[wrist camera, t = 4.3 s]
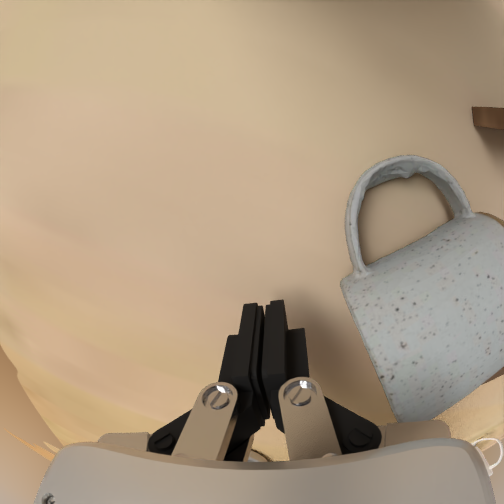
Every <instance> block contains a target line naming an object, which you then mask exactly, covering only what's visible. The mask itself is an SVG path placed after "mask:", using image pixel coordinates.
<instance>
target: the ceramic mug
mask: <svg viewBox="0 0 504 504" xmlns="http://www.w3.org/2000/svg"><path fill="white" fill-rule="evenodd" d="M414 173H420V174H421V175H423V176H425V177H426V178H428V179H430V180H431V181H432V182H433V183H435V184H436V186H437V188H438V189H439V190H441V191H442V193H443V194H444V196H445V198H446V199H447V201H448V202H449V204H450V206H451V208H452V211H453V213H454V219H452V220H450V221H448V222H447V223H445V224H443V225H442V226H440V227H438V228H437V229H435V230H434V231H433V232H431V233H430V234H428V235H427V236H425V237H423V238H421V239H419V240H418V241H416V242H413V243H412V244H410V245H407V246H406V247H404V248H402V249H400V250H398V251H395V252H394V253H392V254H389V255H387V256H385V257H383V258H380V259H378V260H377V261H375V262H374V263H371V264H368V265H367V266H366V265H365V264H364V262H363V260H362V256H361V252H360V244H359V235H358V214H359V211H360V207H361V202H362V200H363V199H364V193H365V191H366V190H367V189H369V188H371V187H374V186H376V185H378V184H380V183H382V182H385V181H388V180H391V179H394V178H398V177H403V178H409V177H410V176H412V175H413V174H414ZM345 234H346V241H347V246H348V250H349V255H350V259H351V262H352V265H353V273H351V274H350V275H348V276H347V277H345V278H343V279H342V280H341V282H340V287H341V289H342V293H343V295H344V298H345V300H346V303H347V305H348V308H349V310H350V312H351V315H352V317H353V320H354V322H355V324H356V326H357V329H358V331H359V333H360V335H361V337H362V340H363V342H364V345H365V348H366V350H367V352H368V354H369V356H370V359H371V361H372V363H373V365H374V368H375V370H376V373H377V375H378V378H379V380H380V382H381V384H382V386H383V389H384V391H385V394H386V397H387V399H388V401H389V403H390V406H391V409H392V411H393V413H394V415H395V418H396V419H397V422H398V423H403V422H417V421H427V420H431V419H433V418H434V417H436V416H438V415H439V414H441V413H442V412H444V411H445V410H447V409H448V408H450V407H451V406H453V405H454V404H455V403H457V402H458V401H460V400H461V399H463V398H464V397H465V396H467V395H468V394H470V393H471V392H472V391H474V390H475V389H476V388H478V387H479V386H480V385H481V384H483V383H484V382H485V381H486V380H488V379H489V378H490V377H491V376H493V375H494V374H495V373H496V372H498V371H499V370H500V369H501V368H502V367H504V221H503V220H501V219H499V218H497V217H495V216H493V215H491V214H488V213H483V212H476V213H473V212H472V210H471V209H470V204H469V201H468V200H467V198H466V195H465V193H464V191H463V190H462V188H461V187H460V185H459V184H458V182H457V180H456V179H455V178H454V177H453V176H452V175H451V174H450V173H449V172H448V171H447V170H446V169H445V168H444V167H442V166H441V165H440V164H438V163H436V162H434V161H431V160H429V159H427V158H423V157H419V156H416V155H405V156H404V155H400V156H397V157H393V158H388V159H386V160H384V161H381V162H379V163H377V164H375V165H374V166H372V167H371V168H369V169H368V170H366V171H365V172H364V173H363V174H362V175H361V177H360V178H359V180H358V181H357V183H356V185H355V186H354V188H353V190H352V192H351V193H350V196H349V200H348V203H347V208H346V214H345Z"/></svg>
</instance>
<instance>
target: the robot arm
mask: <svg viewBox="0 0 504 504" xmlns="http://www.w3.org/2000/svg"><path fill="white" fill-rule="evenodd" d="M270 409H271V412H272V416H273V419H275V423H276V427H277V428H278V429H279V430H280V431H281V432H283V433H284V434H285V436H286V442H287V448H288V453H289V459H290V461H276V462H268V461H267V460H266V459H265V458H264V457H263V456H261V455H260V454H258V453H256V452H254V451H251V448H252V444H253V440H254V433H255V432H257V431H258V430H259V429H260V426H265V419H270ZM34 504H496V502H495V497H494V493H493V489H492V485H491V481H490V478H489V475H488V472H487V469H486V466H485V464H484V462H483V460H482V458H481V456H480V454H479V452H478V451H477V450H476V448H475V447H474V446H473V445H472V444H471V443H469V442H467V441H464V440H461V439H455V438H451V433H450V429H449V426H448V425H447V424H446V423H445V422H443V421H441V420H427V421H417V422H403V423H387V424H386V426H376V425H375V424H374V423H372V422H370V421H368V420H366V419H364V418H363V417H361V416H359V415H357V414H355V413H353V412H351V411H350V410H348V409H346V408H344V407H342V406H341V405H339V404H337V403H335V402H334V401H332V400H330V399H328V398H327V397H325V396H323V392H322V389H321V387H320V385H319V383H317V382H316V381H315V380H313V379H311V378H309V368H308V357H307V347H306V338H305V329H304V328H300V329H292V330H288V325H287V319H286V312H285V305H284V300H276V301H271V302H270V305H266V310H265V315H264V310H263V306H258V304H257V303H250V304H244V306H243V311H242V317H241V323H240V329H239V334H238V335H229V336H228V338H227V343H226V347H225V352H224V356H223V361H222V366H221V370H220V375H219V380H218V382H216V383H212V384H210V385H208V386H206V387H205V388H204V389H202V390H201V392H200V393H199V395H198V397H197V400H196V402H195V404H194V406H193V408H192V409H191V410H190V411H188V412H186V413H185V414H183V415H182V416H180V417H178V418H177V419H175V420H174V421H172V422H170V423H169V424H167V425H165V426H164V427H162V428H160V429H159V430H157V431H156V432H154V433H153V434H149V433H148V432H142V433H108V434H105V435H103V436H101V438H100V439H99V440H98V442H79V443H73V444H69V445H66V446H65V447H63V448H62V449H61V450H60V451H59V452H58V453H57V454H56V456H55V457H54V459H53V460H52V462H51V464H50V466H49V468H48V470H47V472H46V474H45V476H44V478H43V481H42V483H41V485H40V488H39V490H38V493H37V496H36V499H35V501H34Z"/></svg>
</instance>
